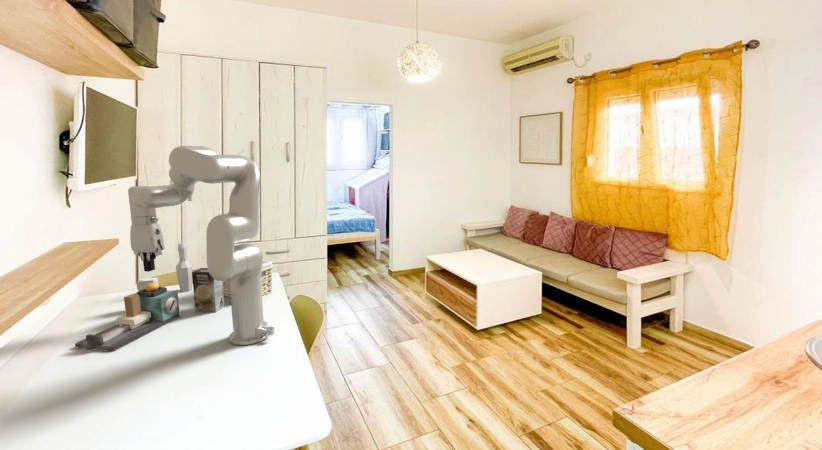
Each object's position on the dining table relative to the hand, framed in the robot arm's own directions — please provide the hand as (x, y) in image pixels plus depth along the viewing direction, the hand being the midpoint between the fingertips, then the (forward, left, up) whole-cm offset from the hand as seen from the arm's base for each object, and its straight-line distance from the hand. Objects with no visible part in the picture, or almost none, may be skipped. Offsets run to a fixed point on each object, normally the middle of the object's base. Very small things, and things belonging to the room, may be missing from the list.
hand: (149, 270), depth 144 cm
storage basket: (-15, -32, -19) cm, 40 cm away
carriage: (0, +9, -17) cm, 19 cm away
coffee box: (-13, -13, -19) cm, 27 cm away
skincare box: (+11, -10, -19) cm, 24 cm away
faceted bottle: (+13, -32, -19) cm, 39 cm away
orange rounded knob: (0, 0, -7) cm, 7 cm away
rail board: (0, +10, -19) cm, 21 cm away
